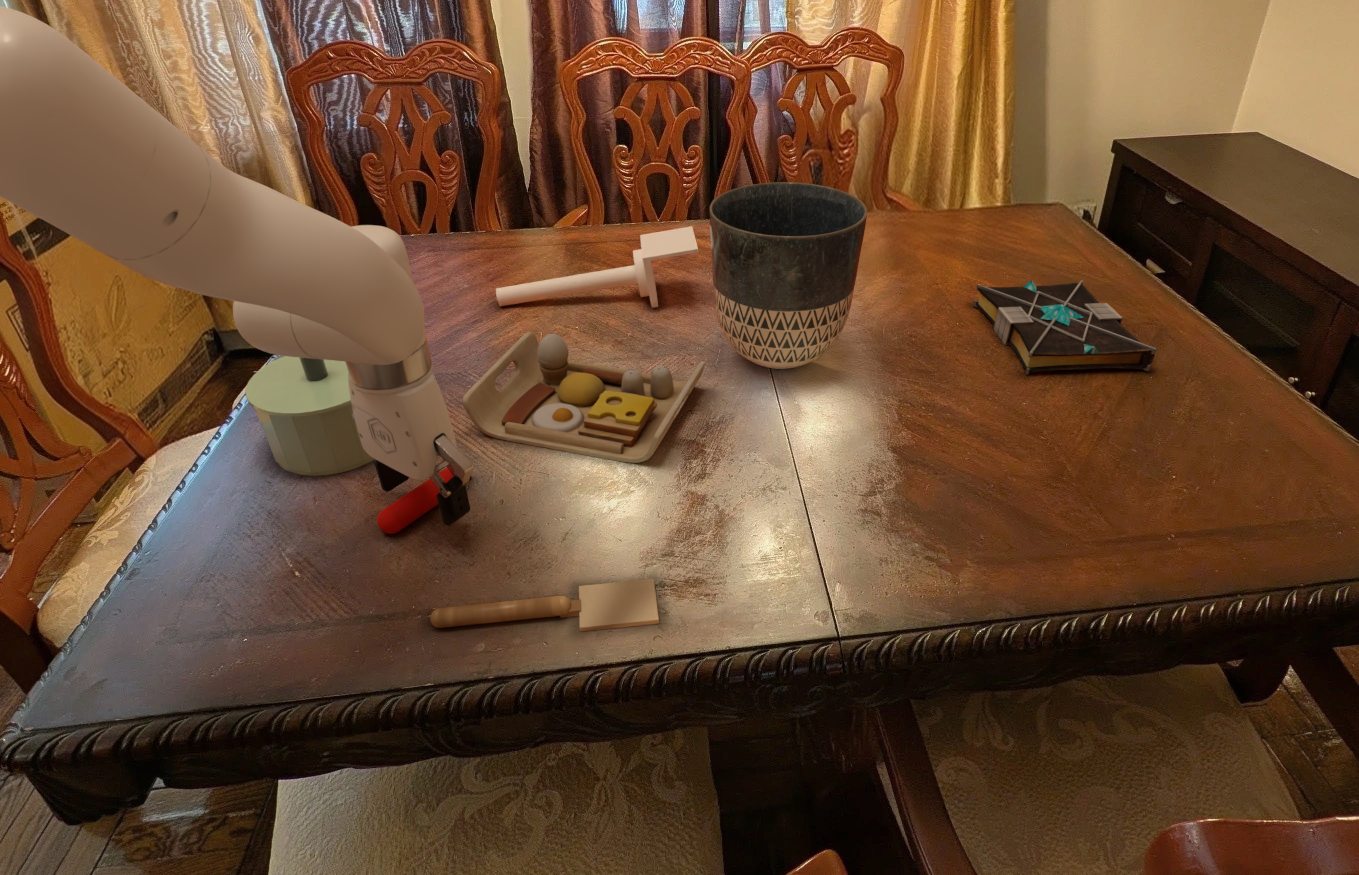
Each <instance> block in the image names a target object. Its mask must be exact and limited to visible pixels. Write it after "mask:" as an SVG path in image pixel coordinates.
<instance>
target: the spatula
mask: <svg viewBox="0 0 1359 875" xmlns="http://www.w3.org/2000/svg"><path fill="white" fill-rule="evenodd" d="M658 610H659V609H658V602H657V594H656V585H655V579H654V578H647V579H635V580H626V581H615V582H605V583H594V584H588V585H587V584H584V585H579V586H578V599H569V597H567V596H565V595H554V596H545V597H535V598H525V599H514V600H505V601H504V600H503V601H495V602H483V603H473V604H465V605H453V606H444V607H437V608H435V609H434V610H432V612H431V613H430V616H429V621H430V623H431V625H432V626H433V627H435V628H437V629H445V628H452V627H463V626H472V625H474V626H475V625H482V624H492V623H501V622H502V623H504V622H512V621H522V620H523V621H524V620H532V619H533V620H534V619H543V618H551V617H560V618H561V619H562V618H571V617H572V618H573V617H579V618H578V619H579V620H578V624H579V625H578V626H579V631H580V633H581V632H589V631H600V630H608V629H609V630H610V629H619V628H630V627H640V626H650V625H656V624H657V625H658V624H660V619H659V611H658Z"/></svg>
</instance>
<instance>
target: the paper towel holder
mask: <svg viewBox="0 0 1359 875" xmlns="http://www.w3.org/2000/svg"><path fill="white" fill-rule="evenodd" d="M639 238H640V247H641V248H638V249H633V250H632V257H633V263H634V264H632V265H626V266H620V267H615V268H609V269H608V268H607V269H603V270H598V271H591V272H585V273H578V274H573V275H568V276H561V277H556V278H555V277H554V278H549V279H544V280H537V281H531V282H526V283H521V284H516V285H508V286H507V285H506V286H502V287H496V288H495V294H496V295H495V296H496V301H497V303H498V306H499V307H505V306H506V307H507V306H511V305H518V304H523V303H529V302H535V301H541V300H546V299H553V298H559V297H565V296H570V295H577V294H583V293H588V292H594V291H600V290H601V291H602V290H606V289H612V288H613V289H614V288H618V287H625V286H629V285H631V286H632V285H635V284H637V285H638V286H637V287H638V292H639V296H640V298H645V297H649V301H650V306H651V308H652V309H653V308H659V301H658V300H659V299H658V293H657V292H658V291H657V285H656V279H655V273H654V268H653V262H652V261H655V260H662V259H667V258H673V257H679V256H685V255H691V254H697V253H699V247H698V244H697V240H696V236H695V231H694V228H693V226H692V225H691V226H685V227H678V228H673V229H667V230H661V231H656V232H650V233H645V234H640V235H639Z"/></svg>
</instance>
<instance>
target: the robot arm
mask: <svg viewBox="0 0 1359 875" xmlns="http://www.w3.org/2000/svg"><path fill="white" fill-rule="evenodd" d="M0 198H2V199H4V200H6V201H7V202H9V203H11V204H13V205H15V206H17V207H18V208H20V209H22V210H24V211H25V212H28V213H29V214H31V215H32V216H34V217H36V218H38V219H40V220H43V221H44V222H46V223H48V224H49V225H52V226H54V227H55V228H57V229H59V230H61V231H62V232H64V233H65V234H68V235H69V236H71V237H73V238H74V239H77V240H79V241H80V242H82V243H84V244H86V245H87V246H88V247H91V248H93V249H94V250H96V251H98V252H100V253H101V254H103V255H105V256H106V257H109V258H110V259H112V260H114V261H115V262H118V263H119V264H120V265H123V266H124V267H126V268H127V269H129V270H131V271H133V272H135V273H137V274H138V275H140V276H143V277H144V278H146V279H149V280H152V281H154V282H157V283H160V284H163V285H166V286H170V287H174V288H177V289H180V290H183V291H186V292H191V293H194V294H198V295H202V296H205V297H210V298H216V299H220V300H221V299H222V300H227V301H232V302H233V303H232V316H233V322H234V325H235V327H236V329H237V332H238V333H239V335H240V337H242V338H243V339H244V341H245V342H247V343H248V344H250V346H252V347H254V348H255V349H257V350H260V351H262V352H265V353H268V354H271V355H276V356H281V357H283V356H289V357H300V358H311V359H325V360H335V361H345V363H346V366H347V370H348V383H349V392H350V399H351V404H352V409H353V413H352V417H353V419H354V421H355V422H356V426H357V430H358V434H359V437H360V441H361V444H362V447H363V449H364V451H365V452H366V453H367V454H368V455H370V457H371V458H372V459H373V461H374V463H373V464H374V466H375V470H376V473H377V477H378V480H379V484H380V487H381V489H382V491H384V492H386V493H388V492H390V491H393V490H394V489H396V488H397V487H398V486H400V485H401V484H403V483H405V482H407V481H408V480H409V479H412V480H415V481H420V482H425V481H427V480H428V479H431V481H432V482H433V484H434V485H435V486H436V488H437V489H438V491H439V492H440V493H438V495H436V496H437V500H438V508H439V512H440V515H441V519H442V523H443V524H444V525H445V526H447V527H450V526H452V525H453V524H454V523H456V522H457V521H458V520H460V519H461V518H463V517H464V516H465V515H467V514H468V513H469V512H470V511H471V505H470V501H469V496H468V491H467V488H466V485H468V483H469V482H470V481H472V479H473V477H472V475H473V472H474V469H475V465H474V463H473V462H472V460H471V459H470V458H469V457H468V456H466V454H465V453H463V452H462V451H461V450H460V449H459V447H458V446H457V440H456V435H455V432H454V428H453V427H454V426H453V424H452V420H451V418H450V414H449V411H448V407H447V404H446V403H445V399H444V396H443V394H442V391H441V388H440V385H439V383H438V381H437V378H436V376H435V374H434V373H433V371H434V365H433V361H432V357H431V356H432V355H431V352H430V348H429V343H428V338H427V334H426V330H425V329H426V328H425V326H426V315H425V307H424V303H423V300H422V297H421V295H420V292H419V290H418V288H417V286H416V284H415V282H414V276H413V272H412V268H411V264H410V260H409V255H408V251H407V249H406V248H407V247H406V246H405V242H404V241H403V239H402V237H401V236H400V235H399V234H398V233H397V232H396V231H395V230H393V229H391V228H389V227H386V226H383V225H374V224H359V225H353V226H351V225H349V224H347V223H345V222H343V221H341V220H339V219H337V218H335V217H332V215H328V214H327V213H324V212H322V211H320V210H318V209H316V208H313V207H311V206H309V205H307V204H304V203H302V202H300V201H298V200H296V199H294V198H292V197H290V196H287V195H285V194H284V193H282V192H279V191H278V190H276V189H273V188H271V187H269V186H268V185H264V184H262V183H260V182H257V181H255V180H252V179H250V178H247V177H245V176H243V175H240V174H239V173H236V172H234V171H232V170H230V169H229V168H227V166H225V165H224V164H222V163H221V162H220V161H218V160H216V159H215V158H214V157H213V156H212V155H210V154H209V153H208V152H207V151H206V150H204V149H203V148H202V147H201V146H200V145H198V144H197V143H196V142H194V141H193V140H192V138H190V137H189V136H187V134H185V133H184V132H183V131H182V130H180V129H179V128H178V127H177V126H175V125H174V124H173V123H171V122H170V121H169V120H168V119H167V118H166V117H164V116H163V115H162V114H161V113H160V112H158V111H157V110H156V109H155V108H153V106H151V105H149V103H148V102H146V101H145V100H144V99H143V98H141V97H140V96H139V95H138V94H136V92H135V91H133V90H132V89H130V88H129V87H128V86H127V85H126V84H124V83H123V82H122V81H120V80H119V79H118V78H117V77H116V76H115V75H113V74H112V73H111V72H110V71H108V70H107V68H105V67H104V66H102V65H101V64H100V63H99V62H97V61H96V60H95V58H93V57H92V56H91V55H89V54H88V53H87V52H86V51H84V50H83V49H82V48H81V47H79V46H78V45H77V44H75V43H74V42H73V41H72V40H70V38H68V37H67V36H66V35H64V34H63V33H61V32H60V31H58V30H56V28H53V27H51V25H49V24H47V23H45V22H44V21H42V20H40V19H38V18H36V17H34V16H32V15H29V14H27V13H25V12H22V11H20V10H16V9H14V8H10V7H6V6H2V5H0ZM437 457H440V458H442V461H440V462H439V463H438V464H437V459H438V458H437ZM445 468H448V469H449V471H450V472H451V474H452V475H453V476H454V477H452V478H451V479H450V480H449V481H448V482H446V483H445V481H444V480H443V479H442V477H441V476H440V474H439V472H440V471H442V470H444V469H445Z"/></svg>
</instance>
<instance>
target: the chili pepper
mask: <svg viewBox="0 0 1359 875" xmlns="http://www.w3.org/2000/svg"><path fill="white" fill-rule="evenodd" d="M438 473H439V474H440V476H441V477H442V479H443V480H444V481H445V483H446V482H448V481H449V480H450V479H451V478H452V477H454V476H453V475H452V474H451V472H450V471H449V469H448V468H447V467H445V468H443V469H441V470H440V471H438ZM438 493H440V492H439V491H438V489H437V488H436V486H435V485H434V484H433V482H432V481H431V479H430V478H428V479H427V480H425V481H423V482H422V483H421V484H419V485H418V486H416V487H415V488H413V489H412V490H410V491H409V492H407V493H405V494H404V495H403V496H401V497H400V498H398V499H396V500H395V501H394V502H393V503H391V504H389V505H388V506H386V507H385V508H383V509H382V510H381V511H380V512H379V514H378V515H377V518H376V523H377V526H378V528H379V529H380V531H382V532H384V533H385V534H388V535H389V534H390V535H392V534H397V533H399V532H400V531H402V530H404V529H405V528H407V526H409V525H411V524H412V523H414V522H415V521H416V520H418V519H419V518H421V517H422V516H423V515H425V514H426V513H428V512H429V511H431V510H432V509H434V508H436V506H439V504H438V500H437V496H436V495H438Z"/></svg>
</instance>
